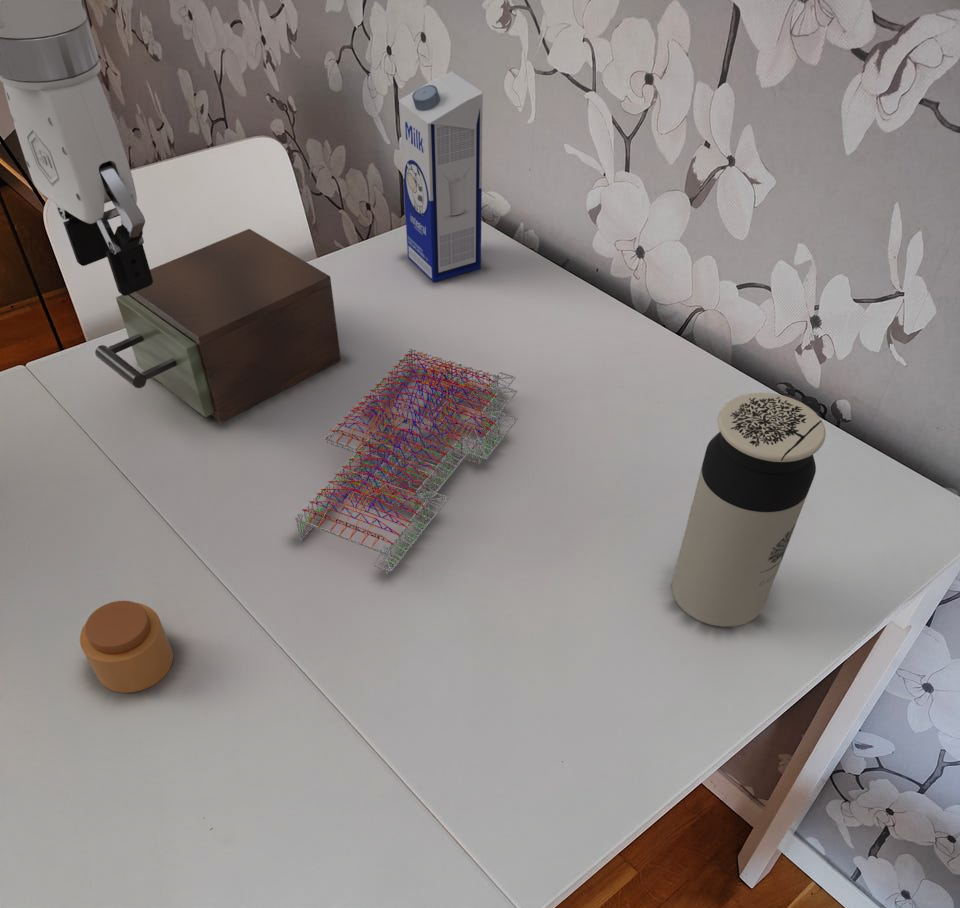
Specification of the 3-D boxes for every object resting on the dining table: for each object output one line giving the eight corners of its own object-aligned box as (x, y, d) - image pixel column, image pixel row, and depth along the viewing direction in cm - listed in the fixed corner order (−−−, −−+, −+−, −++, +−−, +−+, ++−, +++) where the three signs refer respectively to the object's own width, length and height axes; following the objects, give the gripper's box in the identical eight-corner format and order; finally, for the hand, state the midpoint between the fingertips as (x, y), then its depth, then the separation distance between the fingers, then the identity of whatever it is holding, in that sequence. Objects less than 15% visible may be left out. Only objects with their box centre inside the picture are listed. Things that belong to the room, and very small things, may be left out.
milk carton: (481, 269, 111) (483, 90, 96) (433, 283, 109) (427, 102, 93) (453, 244, 115) (451, 68, 99) (407, 257, 113) (397, 79, 97)
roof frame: (399, 592, 77) (395, 550, 73) (254, 535, 81) (243, 492, 77) (542, 403, 94) (546, 360, 90) (416, 364, 98) (414, 321, 94)
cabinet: (220, 423, 92) (198, 337, 84) (146, 366, 98) (119, 281, 90) (341, 360, 99) (330, 276, 91) (265, 311, 105) (249, 228, 97)
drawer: (163, 439, 88) (140, 370, 82) (96, 384, 94) (70, 316, 88) (319, 359, 97) (309, 291, 91) (249, 313, 103) (236, 246, 97)
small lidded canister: (80, 669, 72) (58, 629, 68) (138, 623, 75) (120, 582, 71) (131, 705, 69) (111, 666, 66) (189, 655, 73) (173, 615, 69)
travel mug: (651, 589, 78) (692, 418, 64) (712, 547, 81) (763, 376, 67) (722, 644, 74) (782, 475, 60) (783, 598, 77) (853, 428, 63)
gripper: (-56, 33, 70) (31, 254, 84) (55, 96, 63) (130, 328, 77) (33, 11, 74) (102, 227, 88) (149, 69, 66) (204, 295, 80)
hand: (115, 272), depth 82 cm, fingers open, 6 cm apart
